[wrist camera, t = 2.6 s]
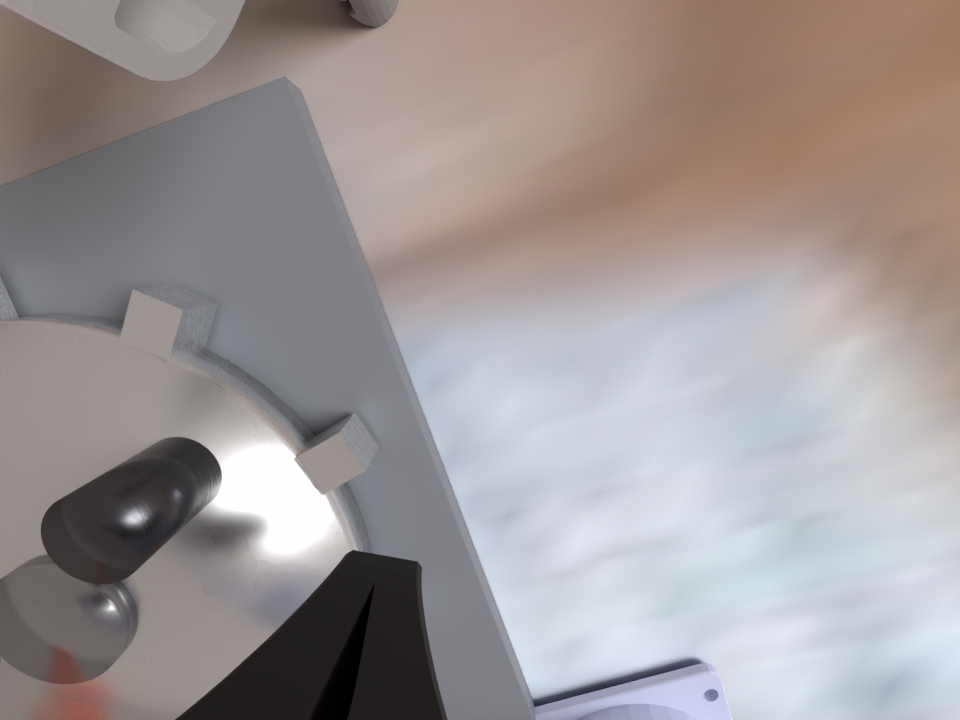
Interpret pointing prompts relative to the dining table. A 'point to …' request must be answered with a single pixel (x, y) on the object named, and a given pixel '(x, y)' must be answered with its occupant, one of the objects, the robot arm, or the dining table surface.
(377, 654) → the robot arm
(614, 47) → the dining table surface
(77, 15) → the mechanical component
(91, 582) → the sprocket
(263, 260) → the index board
